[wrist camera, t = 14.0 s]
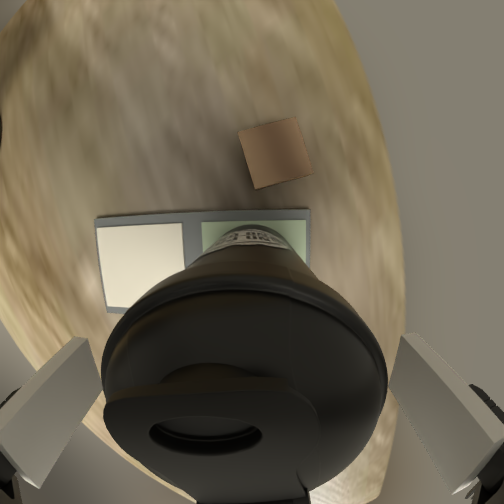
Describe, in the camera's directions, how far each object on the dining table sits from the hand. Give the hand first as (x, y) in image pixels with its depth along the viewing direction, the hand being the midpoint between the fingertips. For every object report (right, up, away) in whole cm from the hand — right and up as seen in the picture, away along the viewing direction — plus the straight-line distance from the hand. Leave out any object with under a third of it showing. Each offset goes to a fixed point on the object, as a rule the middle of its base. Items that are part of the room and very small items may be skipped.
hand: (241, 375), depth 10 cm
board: (-5, +3, +19) cm, 20 cm away
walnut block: (+2, +14, +16) cm, 22 cm away
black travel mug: (0, +3, +17) cm, 18 cm away
